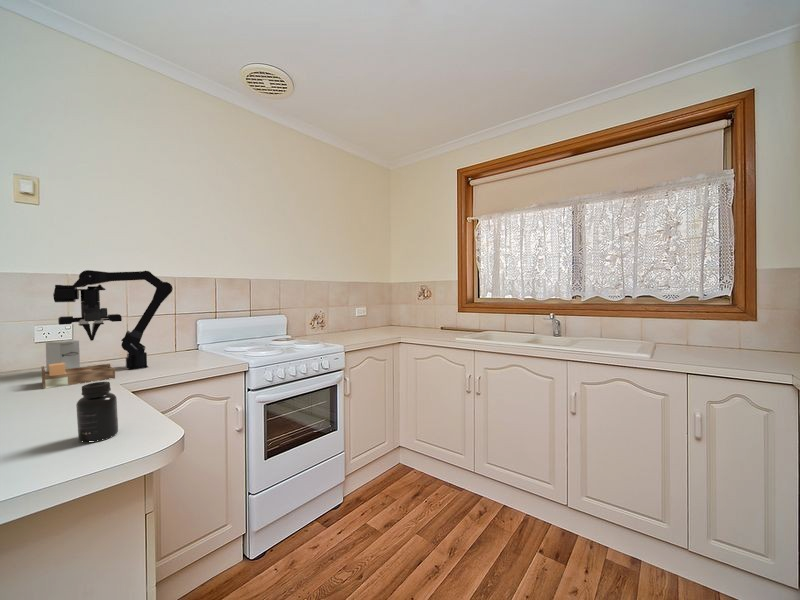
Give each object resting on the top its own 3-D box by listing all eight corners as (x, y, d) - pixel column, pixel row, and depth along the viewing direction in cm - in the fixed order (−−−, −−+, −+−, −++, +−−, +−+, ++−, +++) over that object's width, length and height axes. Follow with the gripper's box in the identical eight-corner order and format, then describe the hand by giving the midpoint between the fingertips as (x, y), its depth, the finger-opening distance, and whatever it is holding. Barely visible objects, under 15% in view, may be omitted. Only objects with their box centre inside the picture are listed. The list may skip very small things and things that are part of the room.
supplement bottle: (94, 431, 82) (92, 380, 81) (125, 430, 82) (123, 379, 82) (69, 444, 75) (66, 388, 74) (103, 443, 75) (101, 387, 75)
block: (64, 373, 127) (64, 362, 127) (65, 375, 124) (65, 364, 124) (49, 375, 124) (48, 364, 124) (49, 377, 122) (49, 365, 121)
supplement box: (60, 374, 138) (59, 342, 138) (46, 373, 140) (44, 342, 140) (80, 370, 146) (79, 340, 145) (66, 369, 147) (65, 339, 147)
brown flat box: (110, 373, 139) (109, 358, 139) (115, 378, 132) (114, 362, 132) (42, 383, 125) (41, 366, 125) (43, 388, 118) (42, 371, 118)
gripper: (59, 303, 128) (60, 345, 128) (123, 301, 141) (124, 339, 142) (57, 302, 136) (59, 342, 136) (118, 301, 149) (119, 337, 150)
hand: (91, 340), depth 141 cm, fingers closed
